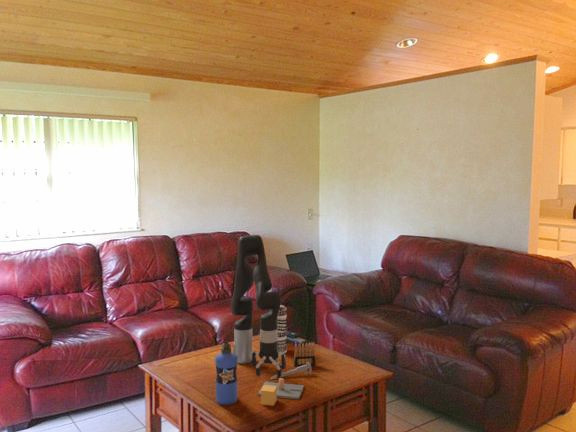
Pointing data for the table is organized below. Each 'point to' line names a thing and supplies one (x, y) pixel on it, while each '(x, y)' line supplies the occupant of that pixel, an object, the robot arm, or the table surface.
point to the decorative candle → (282, 330)
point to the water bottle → (226, 376)
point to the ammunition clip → (304, 355)
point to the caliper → (296, 370)
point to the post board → (286, 389)
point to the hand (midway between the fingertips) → (268, 376)
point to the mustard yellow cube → (268, 395)
